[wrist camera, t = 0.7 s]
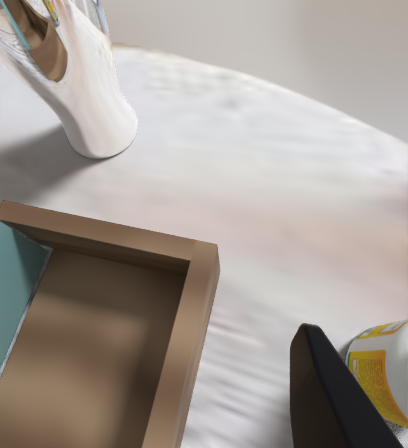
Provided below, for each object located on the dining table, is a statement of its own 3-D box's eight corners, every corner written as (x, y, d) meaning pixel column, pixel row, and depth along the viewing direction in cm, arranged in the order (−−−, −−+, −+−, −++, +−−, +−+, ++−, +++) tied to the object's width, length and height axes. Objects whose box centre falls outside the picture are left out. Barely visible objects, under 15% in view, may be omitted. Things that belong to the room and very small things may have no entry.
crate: (156, 548, 19) (126, 624, 14) (-51, 475, 21) (-151, 516, 16) (220, 270, 25) (217, 244, 19) (50, 233, 27) (3, 200, 21)
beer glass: (60, 167, 29) (-98, -13, 15) (67, 101, 31) (-63, -106, 18) (143, 159, 29) (61, -32, 15) (143, 93, 31) (73, -124, 17)
